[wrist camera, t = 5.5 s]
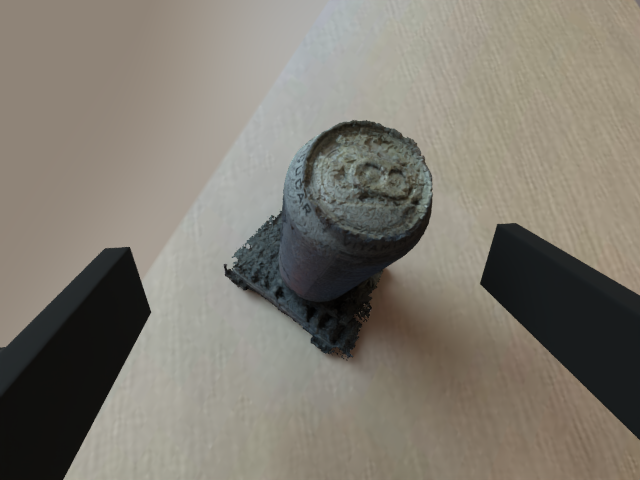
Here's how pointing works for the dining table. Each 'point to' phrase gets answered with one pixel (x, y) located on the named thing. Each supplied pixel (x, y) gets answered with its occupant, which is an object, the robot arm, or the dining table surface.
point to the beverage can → (338, 229)
